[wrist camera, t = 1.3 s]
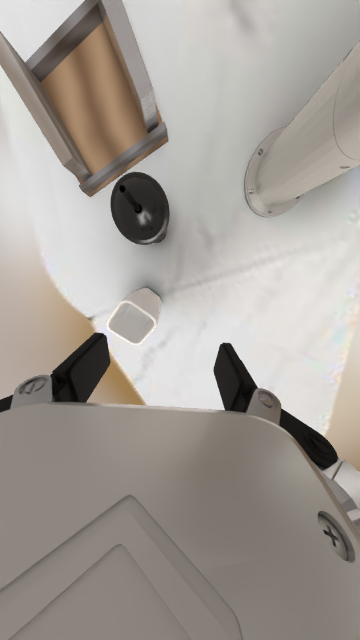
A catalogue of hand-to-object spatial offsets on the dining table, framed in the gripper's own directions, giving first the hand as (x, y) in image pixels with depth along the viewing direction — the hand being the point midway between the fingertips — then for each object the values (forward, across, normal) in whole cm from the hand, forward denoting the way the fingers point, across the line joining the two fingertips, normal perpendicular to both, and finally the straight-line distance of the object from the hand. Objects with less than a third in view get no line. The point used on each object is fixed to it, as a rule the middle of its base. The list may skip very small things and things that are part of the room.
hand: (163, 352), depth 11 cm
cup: (+27, +7, +4) cm, 28 cm away
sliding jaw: (+26, +9, -31) cm, 41 cm away
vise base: (+27, +15, -27) cm, 41 cm away
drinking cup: (+27, +5, -12) cm, 30 cm away
